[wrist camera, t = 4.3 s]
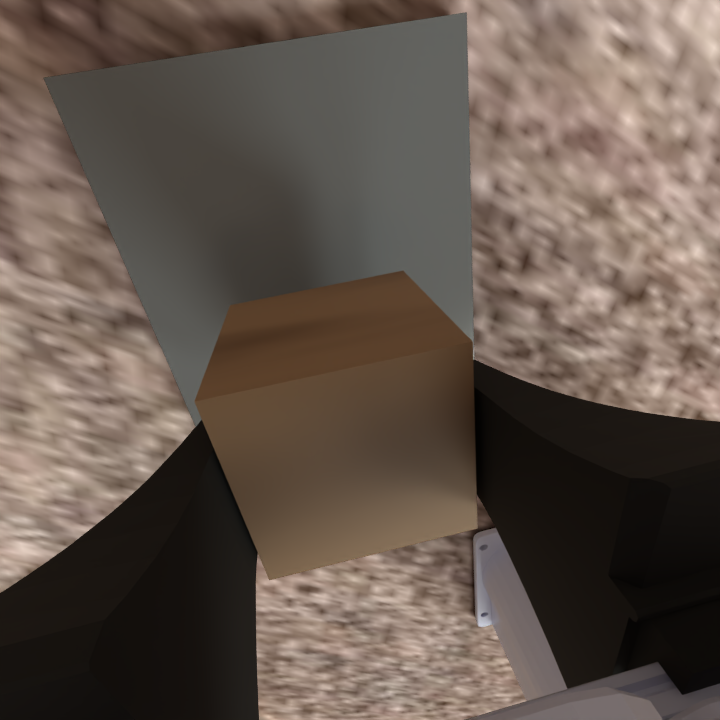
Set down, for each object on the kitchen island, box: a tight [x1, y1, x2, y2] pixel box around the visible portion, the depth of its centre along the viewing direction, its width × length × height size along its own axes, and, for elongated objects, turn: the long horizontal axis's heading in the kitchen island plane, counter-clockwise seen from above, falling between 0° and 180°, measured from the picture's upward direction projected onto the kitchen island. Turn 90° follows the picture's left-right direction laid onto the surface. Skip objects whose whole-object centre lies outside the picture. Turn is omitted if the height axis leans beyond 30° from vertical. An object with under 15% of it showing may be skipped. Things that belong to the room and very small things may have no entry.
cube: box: [194, 271, 478, 580], centre depth 11 cm, size 5×5×5 cm
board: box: [44, 12, 474, 426], centre depth 16 cm, size 18×12×1 cm, turn 9°
